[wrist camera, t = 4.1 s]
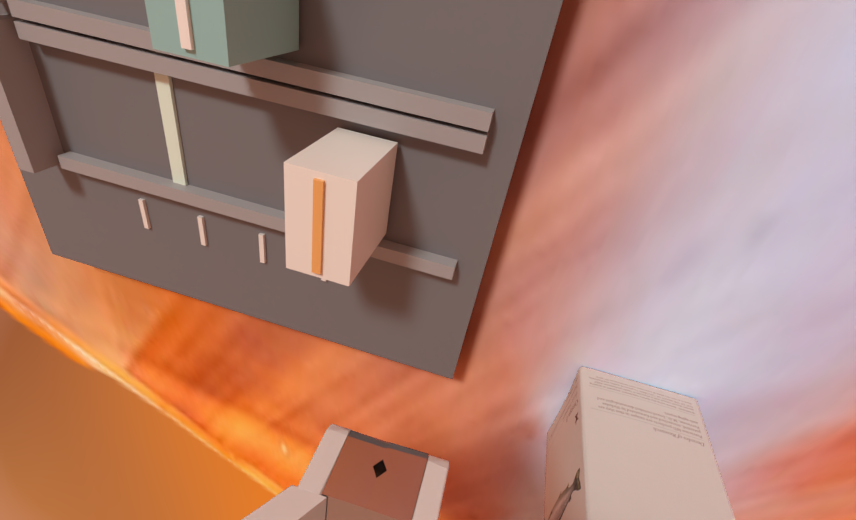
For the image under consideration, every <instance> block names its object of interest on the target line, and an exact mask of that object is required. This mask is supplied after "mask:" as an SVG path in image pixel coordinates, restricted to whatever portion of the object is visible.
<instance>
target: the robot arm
mask: <svg viewBox="0 0 856 520" xmlns="http://www.w3.org/2000/svg"><path fill="white" fill-rule="evenodd" d="M448 470H449V461H448V460H445V459H441V458H438V457H435V456H432V455H429V456H428V454H427V453H423V452H420V451H417V450H413V449H410V448H407V447H403V446H400V445H397V444H393V443H389V442H386V441H383V440H380V439H377V438H374V437H370V436H367V435H364V434H361V433H358V432H355V431H352V430H350V429H347V428H344V427H340V426H337V425H334V424H331V425H330V426H329V428H328V429H327V430H326V432H325V434H324V436H323V438H322V440H321V442H320V444H319V446H318V448H317V450H316V452H315V454H314V456H313V458H312V460H311V462H310V464H309V465H308V467H307V469H306V471H305V473H304V475H303V477H302V479H301V481H300V483H299V485H298V487H297V486H293V485H291V486H290V487H288V488H287V489H285V490H284V491H282V492H281V493H280V494H278V495H277V496H275V497H274V498H272V499H271V500H269V501H268V502H267V503H265V504H264V505H262V506H261V507H259V508H258V509H257V510H255V511H254V512H252V513H251V514H249V515H248V516H246V517H245V518H243V519H242V520H438V518H439V513H440V508H441V503H442V498H443V494H444V489H445V484H446V479H447V474H448Z"/></svg>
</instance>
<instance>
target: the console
mask: <svg viewBox="0 0 856 520" xmlns="http://www.w3.org/2000/svg"><path fill="white" fill-rule="evenodd" d="M562 3H563V0H299V50H297V51H293V52H289V53H285V54H281V55H276V56H272V57H268V58H264V59H260V60H256V61H252V62H248V63H244V64H240V65H236V66H232V67H226V66H222V65H218V64H214V63H210V62H206V61H202V60H198V59H193V58H189V57H185V56H181V55H177V54H173V53H169V52H165V51H160V50H156V49H153V47H152V41H151V35H150V29H149V23H148V18H147V12H146V6H145V0H0V120H1V122H2V125H3V127H4V130H5V133H6V135H7V138H8V140H9V143H10V146H11V148H12V151H13V153H14V156H15V159H16V161H17V164H18V166H19V169H20V171H21V173H22V176H23V178H24V181H25V184H26V186H27V189H28V191H29V194H30V197H31V199H32V202H33V204H34V207H35V210H36V212H37V215H38V217H39V220H40V223H41V225H42V228H43V230H44V233H45V236H46V238H47V241H48V244H49V246H50V249H51V251H52V254H55V255H58V256H61V257H65V258H68V259H71V260H74V261H77V262H81V263H84V264H87V265H90V266H93V267H96V268H100V269H103V270H106V271H109V272H112V273H116V274H119V275H122V276H125V277H128V278H132V279H135V280H138V281H141V282H144V283H147V284H151V285H154V286H157V287H160V288H163V289H167V290H170V291H173V292H176V293H179V294H183V295H186V296H189V297H192V298H195V299H198V300H202V301H205V302H208V303H211V304H214V305H218V306H221V307H224V308H227V309H230V310H234V311H237V312H240V313H243V314H246V315H249V316H253V317H256V318H259V319H262V320H265V321H269V322H272V323H275V324H278V325H281V326H285V327H288V328H291V329H294V330H297V331H300V332H304V333H307V334H310V335H313V336H316V337H320V338H323V339H326V340H329V341H332V342H336V343H339V344H342V345H345V346H348V347H351V348H355V349H358V350H361V351H364V352H367V353H371V354H374V355H377V356H380V357H383V358H387V359H390V360H393V361H396V362H399V363H402V364H406V365H409V366H412V367H415V368H418V369H422V370H425V371H428V372H431V373H434V374H438V375H441V376H444V377H447V378H450V379H453V375H454V372H455V368H456V365H457V362H458V358H459V355H460V351H461V348H462V344H463V341H464V338H465V334H466V331H467V327H468V324H469V321H470V317H471V314H472V310H473V307H474V303H475V300H476V297H477V293H478V290H479V286H480V283H481V280H482V276H483V273H484V269H485V266H486V262H487V259H488V256H489V252H490V249H491V245H492V242H493V239H494V235H495V232H496V228H497V225H498V221H499V218H500V215H501V211H502V208H503V204H504V201H505V197H506V194H507V191H508V187H509V184H510V180H511V177H512V174H513V170H514V167H515V163H516V160H517V156H518V153H519V150H520V146H521V143H522V139H523V136H524V133H525V129H526V126H527V122H528V119H529V115H530V112H531V109H532V105H533V102H534V98H535V95H536V91H537V88H538V85H539V81H540V78H541V74H542V71H543V68H544V64H545V61H546V57H547V54H548V50H549V47H550V44H551V40H552V37H553V33H554V30H555V27H556V23H557V20H558V16H559V13H560V9H561V6H562ZM336 128H342V129H346V130H350V131H354V132H358V133H362V134H366V135H370V136H374V137H378V138H382V139H386V140H390V141H394V142H398V145H397V153H396V161H395V169H394V176H393V184H392V192H391V200H390V207H389V215H388V223H387V231H386V234H385V236H384V237H383V239H382V240H381V241H380V243H379V244H378V246H377V247H376V249H375V250H374V251H373V253H372V254H371V256H370V257H369V259H368V260H367V262H366V263H365V264H364V266H363V267H362V269H361V270H360V272H359V273H358V274H357V276H356V277H355V279H354V280H353V282H352V283H351V284H350V286H346V285H342V284H339V283H336V282H332V281H329V280H325V279H322V278H319V277H315V276H312V275H309V274H305V273H302V272H299V271H295V270H292V269H288V268H286V247H285V202H284V162H285V161H286V160H288V159H289V158H291V157H292V156H294V155H296V154H297V153H299V152H300V151H302V150H303V149H305V148H307V147H308V146H310V145H311V144H313V143H314V142H316V141H317V140H319V139H321V138H322V137H324V136H325V135H327V134H328V133H330V132H332V131H333V130H335V129H336Z"/></svg>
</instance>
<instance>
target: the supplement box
mask: <svg viewBox="0 0 856 520" xmlns="http://www.w3.org/2000/svg"><path fill="white" fill-rule="evenodd" d="M544 520H736V519H735V516H734V513H733V510H732V507H731V504H730V501H729V498H728V494H727V491H726V488H725V485H724V482H723V479H722V476H721V473H720V470H719V467H718V464H717V461H716V458H715V455H714V452H713V449H712V445H711V442H710V439H709V436H708V433H707V430H706V427H705V424H704V421H703V418H702V415H701V412H700V408H699V405H698V401H697V400H696V399H694V398H690V397H687V396H684V395H680V394H677V393H674V392H670V391H667V390H664V389H660V388H657V387H653V386H650V385H646V384H643V383H640V382H636V381H633V380H630V379H626V378H622V377H619V376H615V375H612V374H608V373H605V372H601V371H598V370H594V369H590V368H586V367H580V368H579V370H578V373H577V375H576V378H575V380H574V382H573V385H572V387H571V389H570V391H569V393H568V396H567V398H566V400H565V402H564V404H563V406H562V408H561V409H560V411H559V413H558V415H557V417H556V419H555V421H554V423H553V424H552V426H551V428H550V429H549V431H548V433H547V452H546V475H545V504H544Z"/></svg>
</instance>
